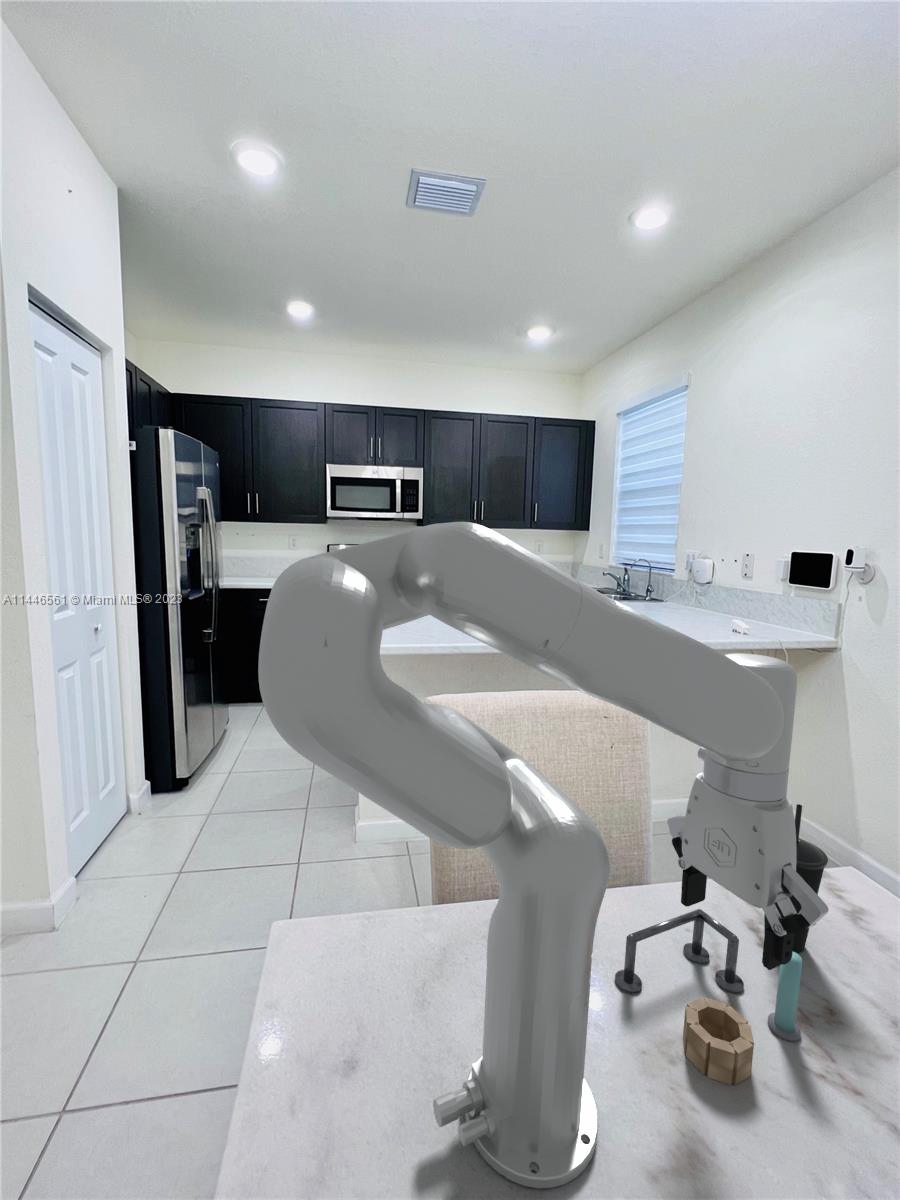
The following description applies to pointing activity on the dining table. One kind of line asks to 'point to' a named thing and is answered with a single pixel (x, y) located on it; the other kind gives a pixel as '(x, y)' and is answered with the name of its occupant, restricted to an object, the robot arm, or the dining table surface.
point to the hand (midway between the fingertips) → (731, 930)
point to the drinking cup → (804, 876)
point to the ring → (718, 1040)
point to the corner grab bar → (691, 950)
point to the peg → (787, 1001)
